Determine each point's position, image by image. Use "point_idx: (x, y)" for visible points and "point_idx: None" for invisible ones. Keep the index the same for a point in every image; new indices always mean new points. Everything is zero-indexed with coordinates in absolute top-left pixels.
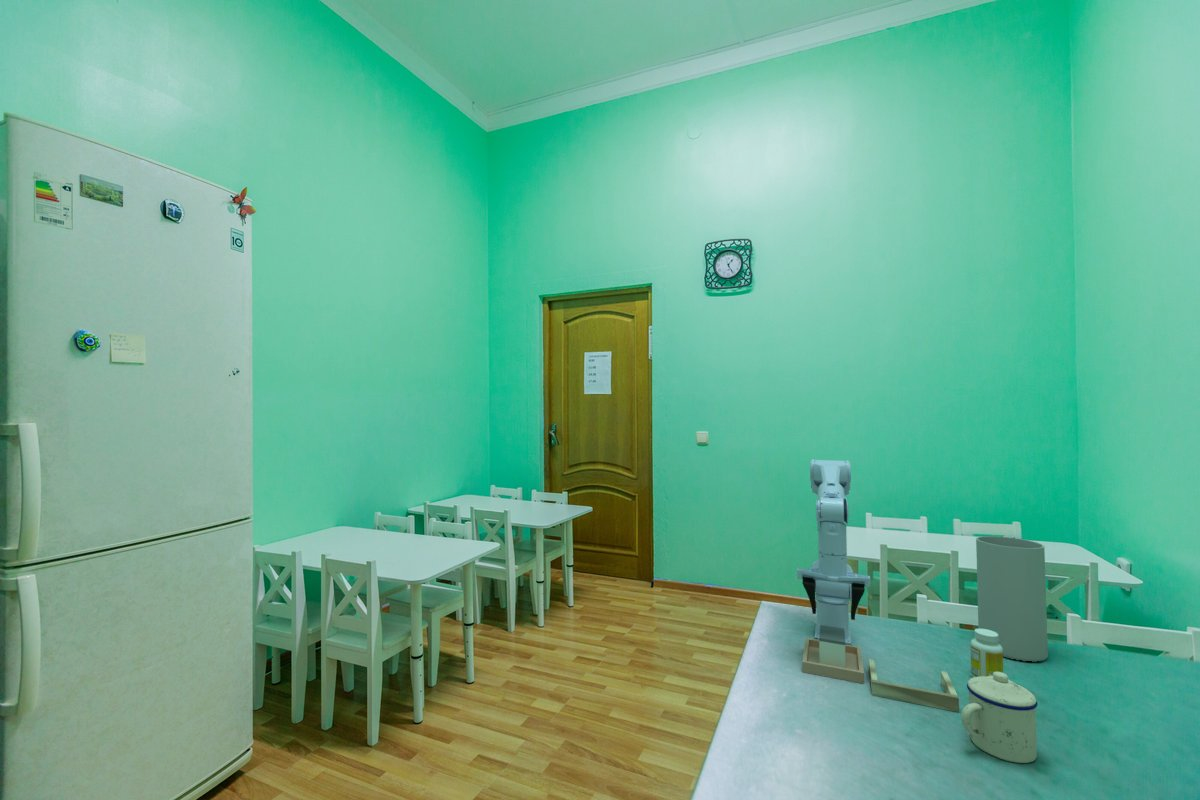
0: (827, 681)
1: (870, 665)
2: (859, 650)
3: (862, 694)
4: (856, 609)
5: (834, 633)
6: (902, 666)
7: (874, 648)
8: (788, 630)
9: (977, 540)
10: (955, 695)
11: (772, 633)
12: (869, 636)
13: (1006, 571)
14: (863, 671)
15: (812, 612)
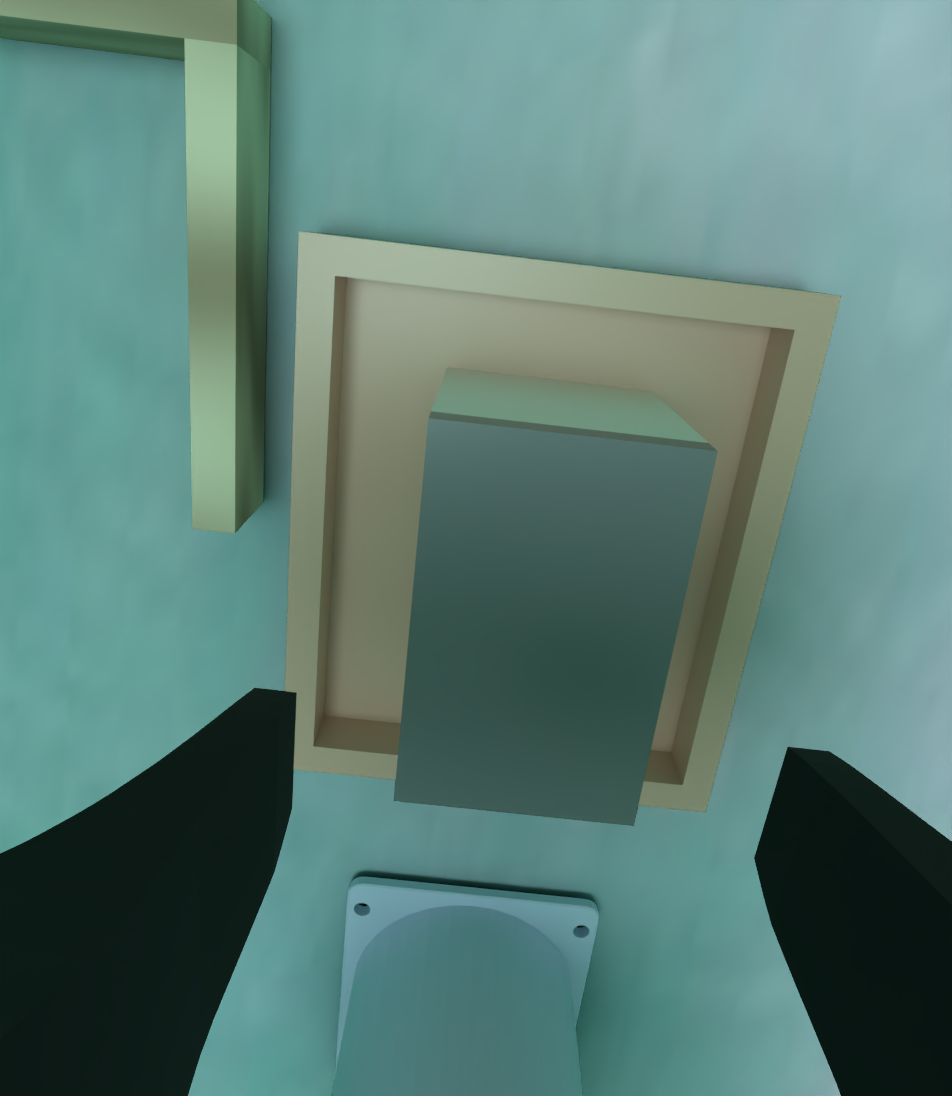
0: (618, 173)
1: (227, 384)
2: (297, 697)
3: (352, 3)
4: (153, 766)
5: (515, 643)
6: (24, 648)
7: None
8: (764, 989)
9: None
10: None
11: None
12: (217, 1034)
13: None
14: (300, 266)
15: (841, 765)
